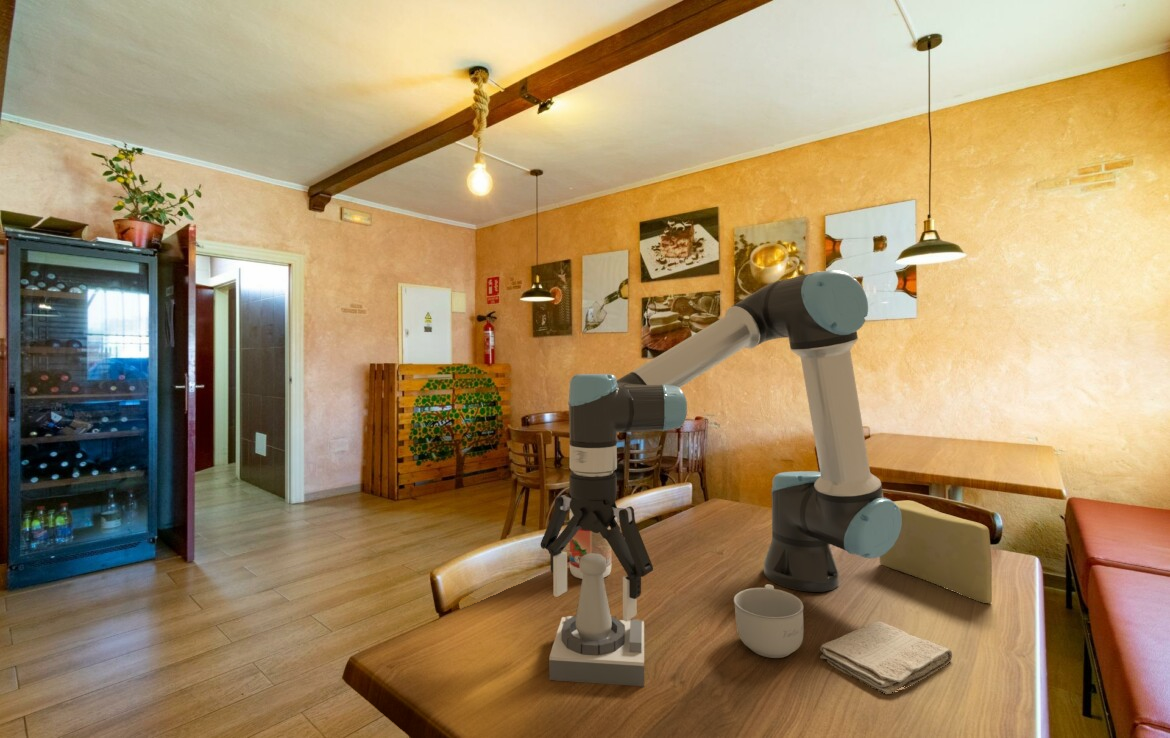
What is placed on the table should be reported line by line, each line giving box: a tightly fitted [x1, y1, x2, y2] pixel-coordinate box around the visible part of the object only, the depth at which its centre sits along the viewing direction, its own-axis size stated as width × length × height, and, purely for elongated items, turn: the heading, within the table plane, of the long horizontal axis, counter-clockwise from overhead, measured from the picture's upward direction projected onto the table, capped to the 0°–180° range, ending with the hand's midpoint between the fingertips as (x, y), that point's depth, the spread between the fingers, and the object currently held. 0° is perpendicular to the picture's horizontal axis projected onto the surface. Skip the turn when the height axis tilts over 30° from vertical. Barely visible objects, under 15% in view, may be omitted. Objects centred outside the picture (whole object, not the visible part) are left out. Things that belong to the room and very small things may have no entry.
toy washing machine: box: [548, 614, 645, 687], centre depth 82 cm, size 14×12×5 cm
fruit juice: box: [569, 509, 612, 580], centre depth 116 cm, size 9×9×28 cm
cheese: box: [879, 499, 993, 604], centre depth 111 cm, size 22×10×15 cm, turn 15°
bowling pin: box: [575, 553, 612, 641], centre depth 82 cm, size 6×6×13 cm
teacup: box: [733, 584, 804, 659], centre depth 86 cm, size 14×11×8 cm
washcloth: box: [819, 621, 953, 695], centre depth 82 cm, size 12×18×3 cm, turn 121°
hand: (593, 605), depth 82 cm, fingers open, 13 cm apart
